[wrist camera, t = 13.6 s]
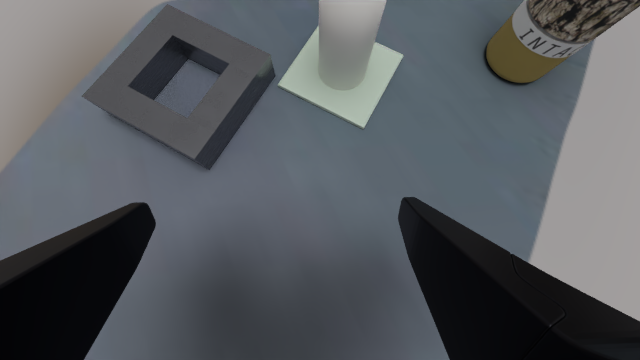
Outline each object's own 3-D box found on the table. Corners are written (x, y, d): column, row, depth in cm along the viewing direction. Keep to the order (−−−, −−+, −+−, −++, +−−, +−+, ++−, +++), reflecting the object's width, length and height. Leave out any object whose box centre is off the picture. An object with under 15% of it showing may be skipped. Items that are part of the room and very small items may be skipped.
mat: (402, 57, 27) (403, 55, 26) (363, 129, 24) (364, 127, 24) (323, 21, 28) (323, 18, 27) (278, 86, 25) (277, 84, 25)
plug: (374, 74, 26) (434, -96, 13) (336, 98, 25) (358, -56, 12) (346, 42, 27) (375, -148, 14) (309, 64, 26) (301, -114, 13)
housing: (275, 75, 26) (270, 54, 23) (209, 169, 23) (194, 159, 20) (182, 29, 27) (167, 4, 24) (109, 113, 24) (81, 96, 21)
